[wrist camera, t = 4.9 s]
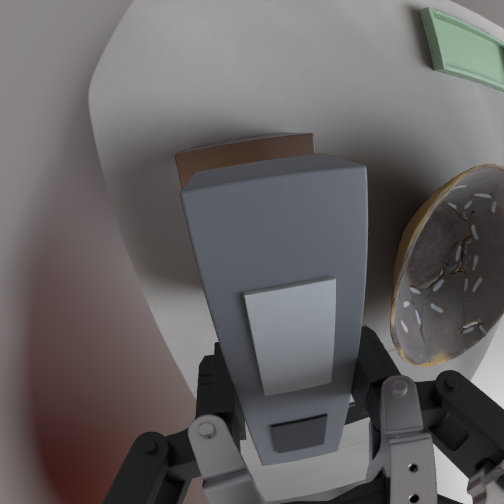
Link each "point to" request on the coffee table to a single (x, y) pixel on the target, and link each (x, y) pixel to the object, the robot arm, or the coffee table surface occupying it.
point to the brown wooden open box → (242, 152)
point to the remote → (285, 291)
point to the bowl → (451, 269)
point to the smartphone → (354, 414)
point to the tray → (463, 49)
